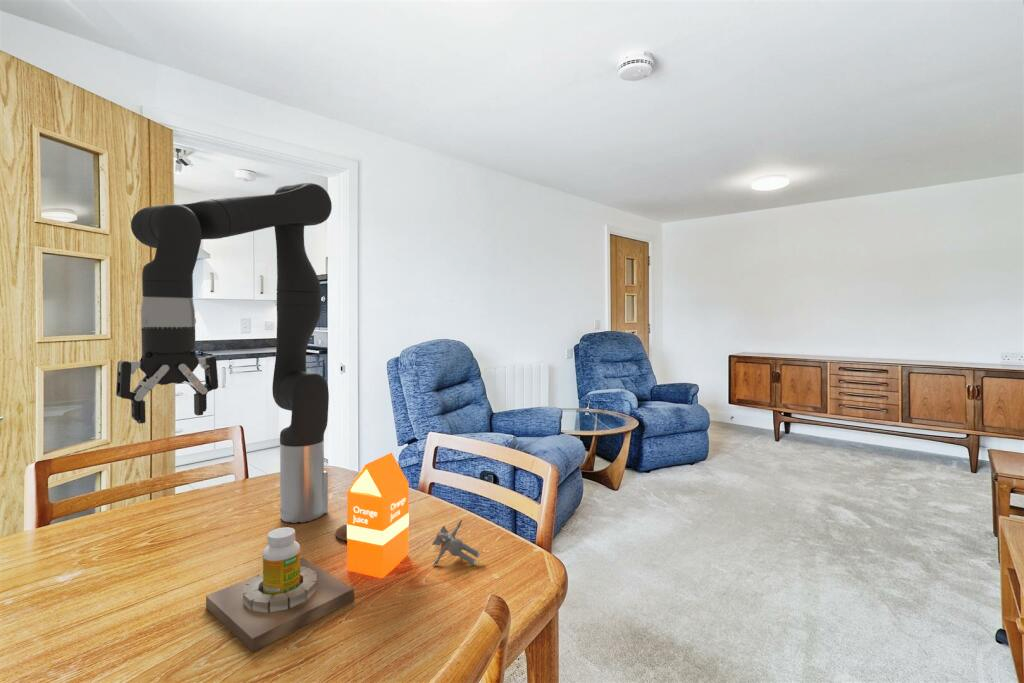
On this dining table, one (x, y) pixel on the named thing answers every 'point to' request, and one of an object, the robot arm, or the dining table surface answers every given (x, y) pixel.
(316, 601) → the stone ring base
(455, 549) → the grey plastic figure
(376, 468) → the orange juice
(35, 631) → the dining table surface
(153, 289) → the robot arm
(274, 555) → the supplement bottle
